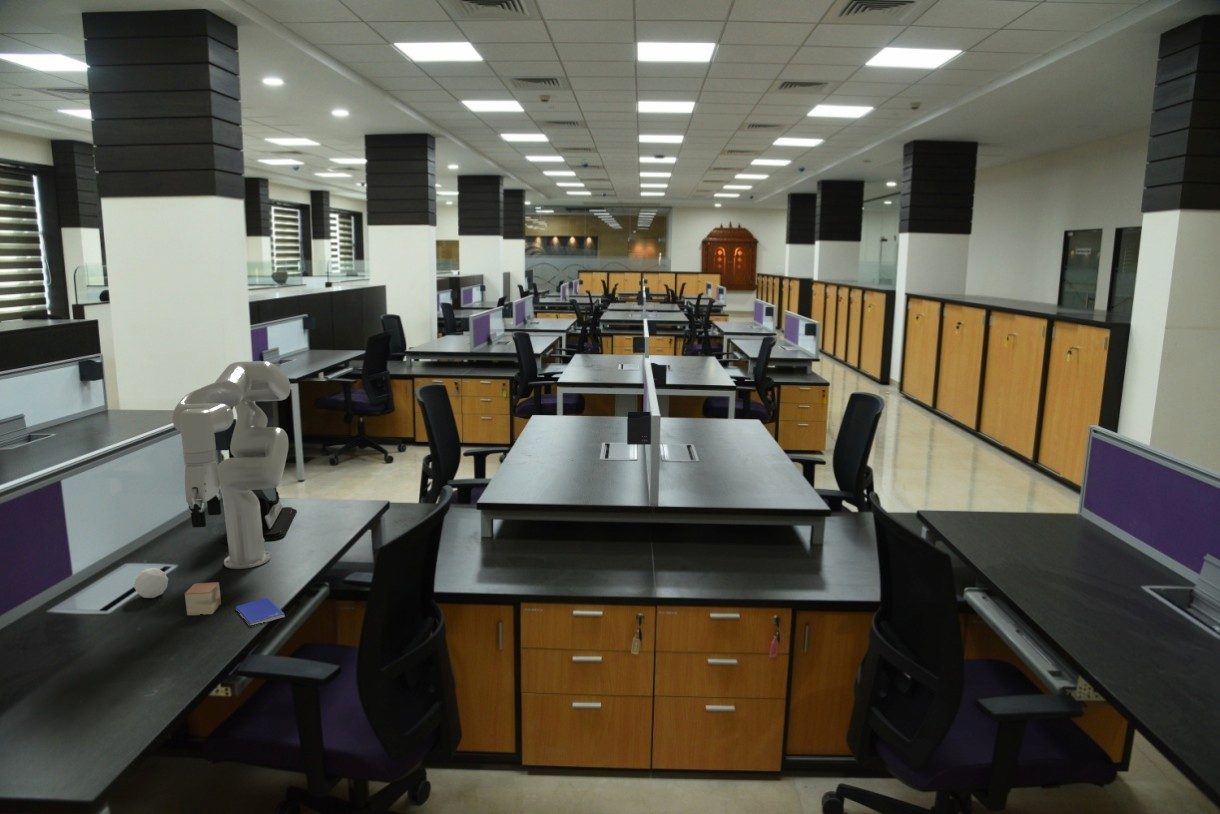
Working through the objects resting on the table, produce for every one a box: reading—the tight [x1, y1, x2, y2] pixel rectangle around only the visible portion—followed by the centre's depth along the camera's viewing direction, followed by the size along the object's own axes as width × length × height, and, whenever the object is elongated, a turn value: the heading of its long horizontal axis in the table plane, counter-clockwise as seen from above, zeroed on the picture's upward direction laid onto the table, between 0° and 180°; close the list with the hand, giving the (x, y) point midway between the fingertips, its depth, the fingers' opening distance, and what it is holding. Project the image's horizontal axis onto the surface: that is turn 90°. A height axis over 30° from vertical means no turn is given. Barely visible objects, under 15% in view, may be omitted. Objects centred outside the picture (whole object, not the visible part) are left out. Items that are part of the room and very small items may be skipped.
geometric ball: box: [133, 567, 169, 599], centre depth 208 cm, size 8×8×8 cm
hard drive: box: [235, 597, 286, 625], centre depth 198 cm, size 2×8×12 cm
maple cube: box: [184, 581, 222, 616], centre depth 200 cm, size 6×6×6 cm
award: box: [221, 445, 298, 545], centre depth 259 cm, size 30×19×30 cm, turn 13°
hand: (207, 520), depth 204 cm, fingers open, 9 cm apart
